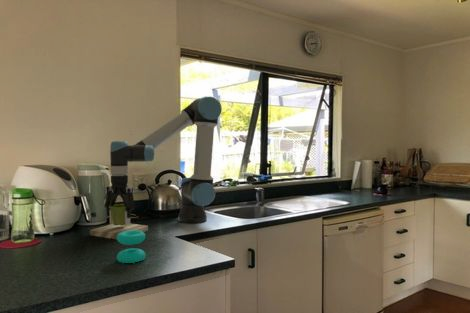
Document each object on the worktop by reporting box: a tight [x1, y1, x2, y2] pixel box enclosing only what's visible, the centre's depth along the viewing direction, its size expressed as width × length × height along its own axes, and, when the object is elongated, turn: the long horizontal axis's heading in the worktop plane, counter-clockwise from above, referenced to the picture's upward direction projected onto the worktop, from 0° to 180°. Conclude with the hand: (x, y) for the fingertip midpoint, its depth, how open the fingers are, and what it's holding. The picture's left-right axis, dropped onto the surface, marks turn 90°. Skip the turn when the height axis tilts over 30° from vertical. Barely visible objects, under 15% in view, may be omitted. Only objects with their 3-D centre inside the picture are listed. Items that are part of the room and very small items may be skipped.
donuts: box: [116, 230, 147, 264], centre depth 136 cm, size 10×10×10 cm
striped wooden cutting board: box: [89, 223, 149, 240], centre depth 176 cm, size 18×18×3 cm
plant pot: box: [109, 203, 126, 226], centre depth 175 cm, size 9×9×9 cm
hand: (119, 223), depth 176 cm, fingers closed on plant pot, 8 cm apart
